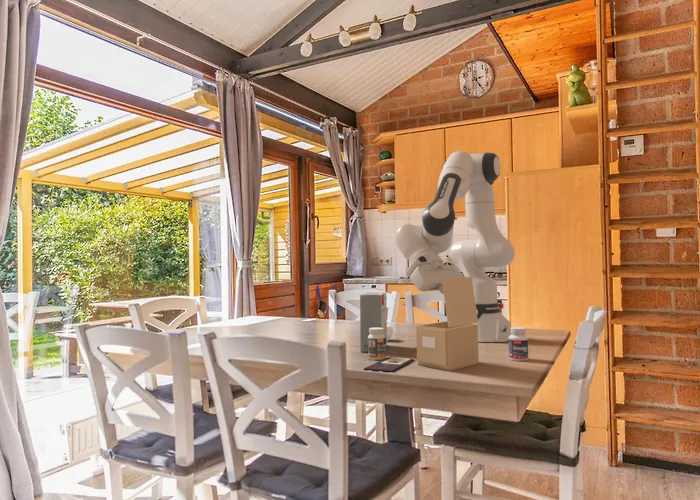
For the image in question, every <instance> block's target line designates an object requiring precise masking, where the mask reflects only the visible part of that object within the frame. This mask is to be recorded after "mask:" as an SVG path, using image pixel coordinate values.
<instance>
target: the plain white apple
mask: <svg viewBox="0 0 700 500" xmlns="http://www.w3.org/2000/svg"><path fill="white" fill-rule="evenodd" d="M393 335H394V328H393V326H392V325H391V324H387V342H388V341H390V340H391V338H392V337H393Z"/></svg>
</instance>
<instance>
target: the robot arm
mask: <svg viewBox="0 0 700 500" xmlns="http://www.w3.org/2000/svg"><path fill="white" fill-rule="evenodd" d="M500 161H501V160H500V158H499V157H498V155H497V154H496V153H495V152H494V153H493V152H484V153H469V152H466V151H463V150H458V151H454V152H452V153H451V154H450V155H449V156H448V158H447V159H445V161H444V162H443V163H442V165H441V170H440V171H441V172H440V175H439V176H438V177H439V178H438V182H437V191H436V193H435V196H434V198H433V200H432V201H431V202H430V203H429V204H428V205H427V206H426V207H425V209H424V210H423V211H422V216H421V221H422V225H421V224H420V225H419V224H418V225H416V224H411V223H405V224H403V225H401V226H400V227H399V228H398V229H397V231H396V233H395V237H394V242H395V244H396V246H397V248H398V249H399V251H400V252H401V254H402V255H403V256H404V258H405V260H407V261H409V263H410V264H409V266H408V267H407V269H406V271H405V275H406V276H407V277H408V278H409V279H410V282H412V284H413V286H414V287H415V288H416V289H417V290H419V291H420V292H423V293H425V292H434V291H439V292H440V294H442V295H444V291H443V284H442V279H447V278H461V277H472V282H473V290H474V297H475V304H476V311H477V319H478V323H472V324H478V343H506V342H509V336H510V335H512V333H511V327H512V323H511V321H510V320H509V319H508V318H506V316H505V315H504V314H502V313H501V310H503V309H504V303H503V302H502V303H500V302H499V303H498V284H497V282H496V280H494V279H493V278H492V277H490V276H488V275H487V273H486V272H485V269H484V268H500V267H504V266H508V265H510V264H511V263H512V262H513V261H514V259H515V256H516V255H515V254H516V252H515V247H514V244H513V243H512V242H511V241H510V240H509V239H507V238H506V237H505V236H504V235H503V234H502V232H501V231H500V229H499V227H498V224H497V219H496V218H497V217H496V209H495V208H496V206H495V205H496V204H495V195H494V194H495V193H494V188H493V187H494V186H493V185H494V183H495V182H496V181H497V179H498V178H499V176H500V174H501V169H502V168H501V167H502V166H501V165H502V164H501V162H500ZM460 199H464V200H465V202H464V205H465V209H464V210H465V223H466V224H467V226H468V227H470V229H472V230H475V231H476V232H477V234H478V238H476V239H475V238H473V239H472V238H470V239H469V238H468V239H463V240H458V241H456V242H454V243H453V245H452V241H453V233H454V225H455V220H456V213H455V210H454V209H455V208H454V204H455V201H459V200H460ZM451 245H452V246H451ZM450 247H451V248H450ZM449 248H450V252H449V253H450V259H451V261H452V263H453V264H454V265H456V266H457V267H458V268H457V267H455V266H454V265H449V264H448V263H445V264H444V260H443V259H442V258H441V256H440V255H439V254H442V253H443V252H446V251H447V250H449ZM459 270H460V271H459Z"/></svg>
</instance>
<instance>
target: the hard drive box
mask: <svg viewBox="0 0 700 500" xmlns="http://www.w3.org/2000/svg"><path fill="white" fill-rule="evenodd" d="M387 305H388V303H387V292H383V291H382V292H379V291H378V292H376V291H375V292H374V291H373V292H365V293H362V294H360V296H359V350H360V351H359V352H364V353H365V352H367V353H368V336H369V335H370V332H369V328H375V327H379V328H383V329H384V332H383V335H385V342H386V347H387V346H388V341H387V325H388V322H387V321H388V317H387V311H388V309H387Z"/></svg>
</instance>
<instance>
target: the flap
mask: <svg viewBox="0 0 700 500" xmlns="http://www.w3.org/2000/svg"><path fill="white" fill-rule="evenodd" d="M442 284H443V291H444V294H443V298H444V305H445V313H446V314H445V315H446V321H447V322H448V327H454V326H460V325H466V324H472V323H478V319H477V311H476V304H475V297H474V290H473V282H472V277H465V276H464V277H461V278H447V279H442Z"/></svg>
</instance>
